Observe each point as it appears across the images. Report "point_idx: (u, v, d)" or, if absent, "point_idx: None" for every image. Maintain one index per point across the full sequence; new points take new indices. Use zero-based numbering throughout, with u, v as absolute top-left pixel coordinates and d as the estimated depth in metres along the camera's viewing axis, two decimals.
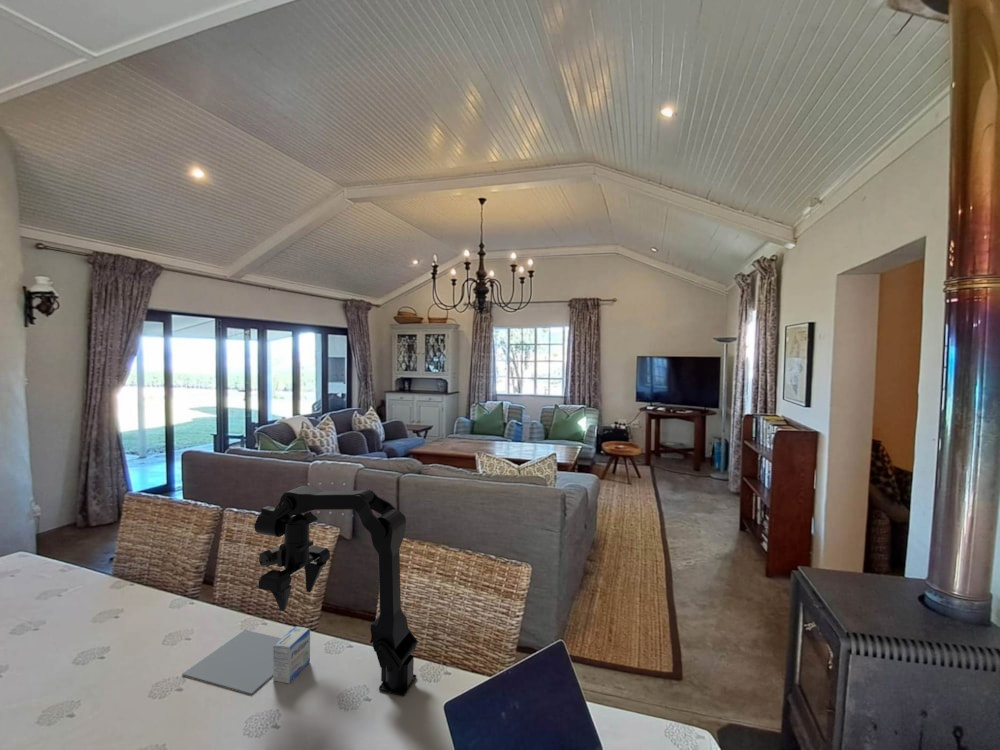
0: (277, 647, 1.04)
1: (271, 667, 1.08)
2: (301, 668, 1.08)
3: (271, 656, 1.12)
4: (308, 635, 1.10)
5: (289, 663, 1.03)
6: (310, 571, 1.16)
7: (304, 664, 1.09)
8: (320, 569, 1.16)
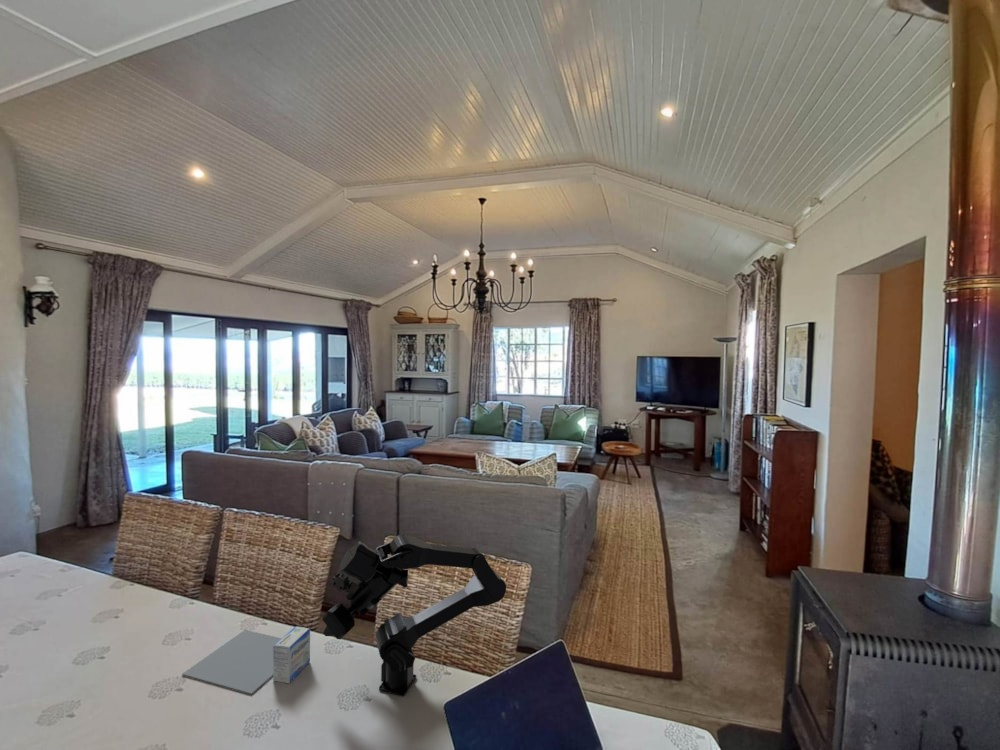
0: (277, 647, 1.04)
1: (271, 667, 1.08)
2: (301, 668, 1.08)
3: (271, 656, 1.12)
4: (308, 635, 1.10)
5: (289, 663, 1.03)
6: None
7: (304, 664, 1.09)
8: None
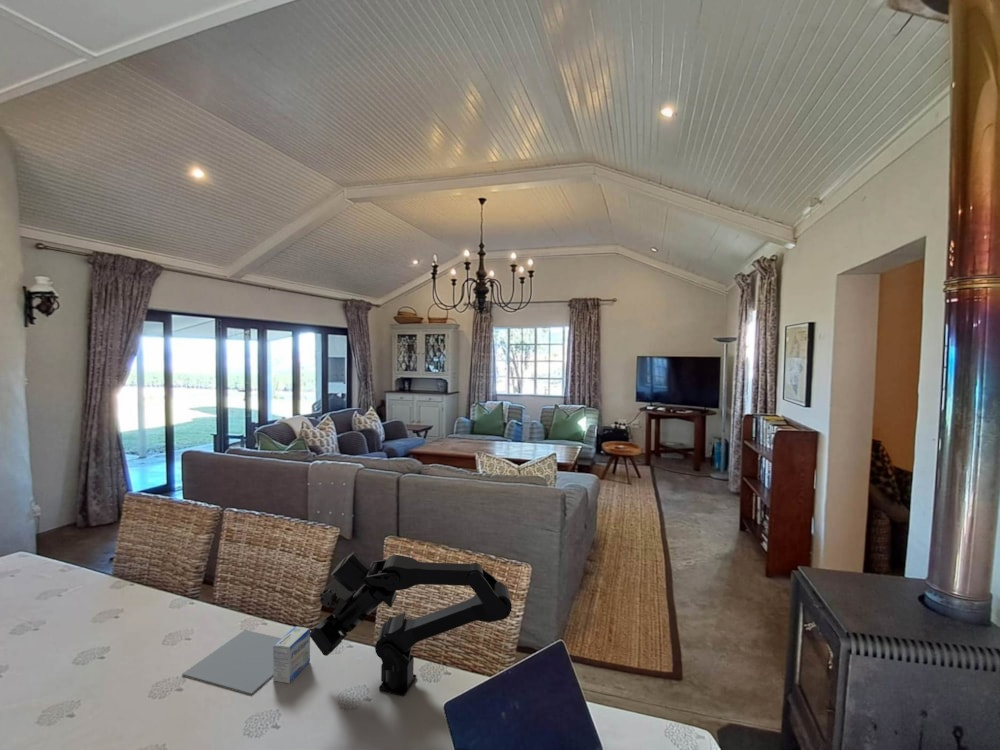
0: (277, 647, 1.04)
1: (271, 667, 1.08)
2: (301, 668, 1.08)
3: (271, 656, 1.12)
4: (308, 635, 1.10)
5: (289, 663, 1.03)
6: None
7: (304, 664, 1.09)
8: None
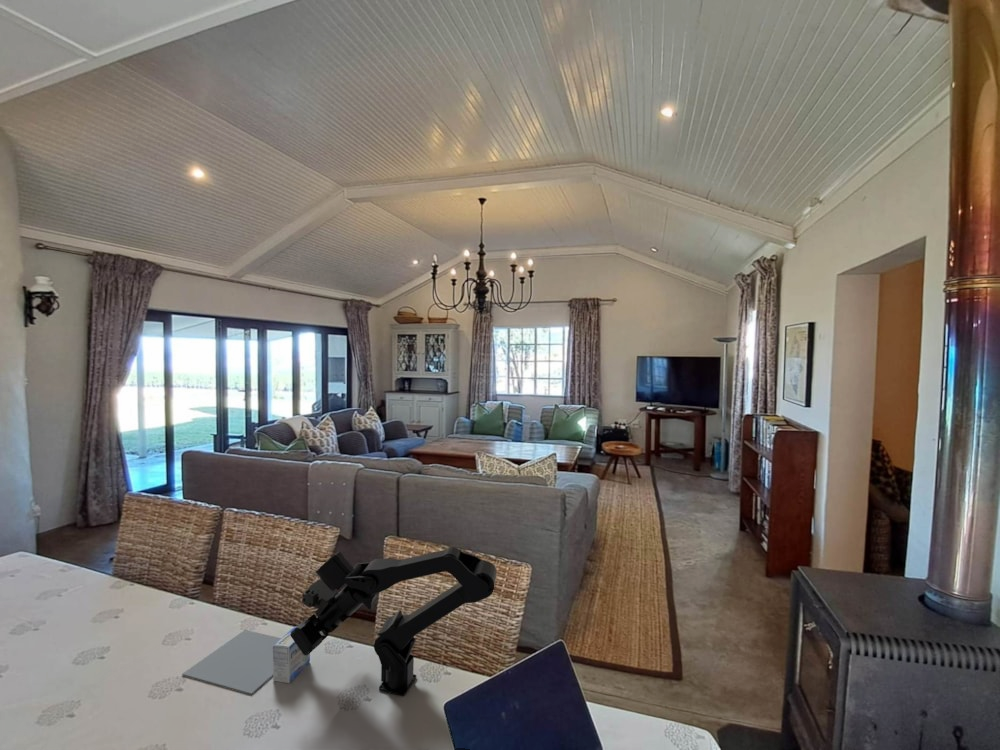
0: (276, 647, 1.04)
1: (271, 667, 1.08)
2: (301, 668, 1.08)
3: (271, 656, 1.12)
4: None
5: (288, 663, 1.03)
6: None
7: (304, 664, 1.09)
8: None
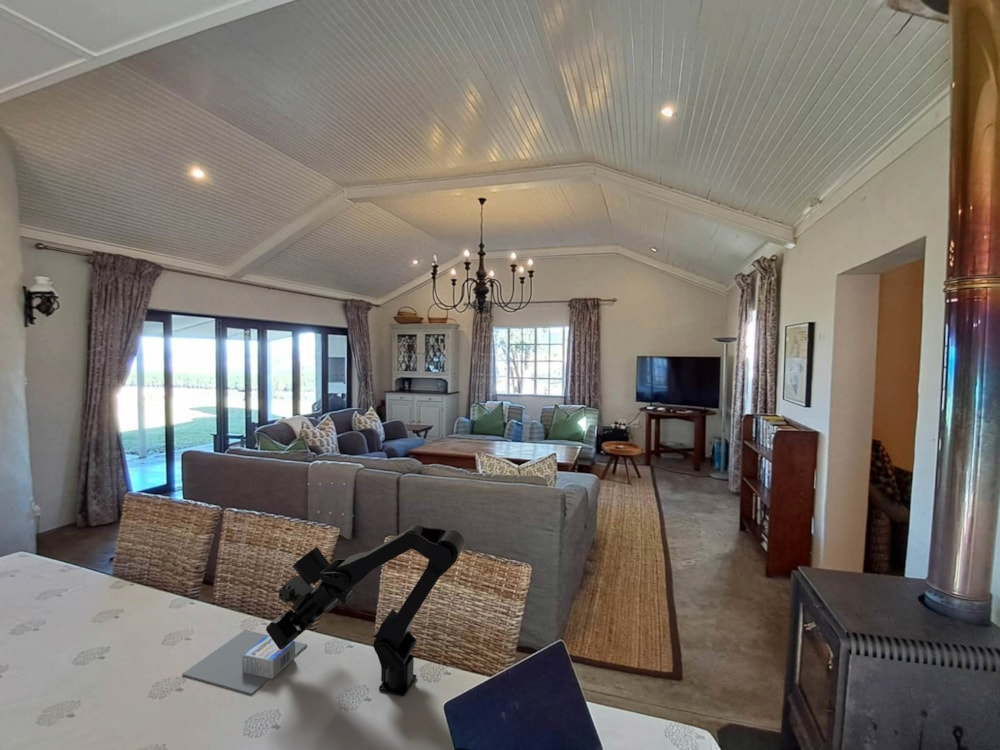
0: (243, 668, 1.06)
1: None
2: None
3: None
4: (268, 637, 1.13)
5: (255, 657, 1.05)
6: None
7: None
8: None
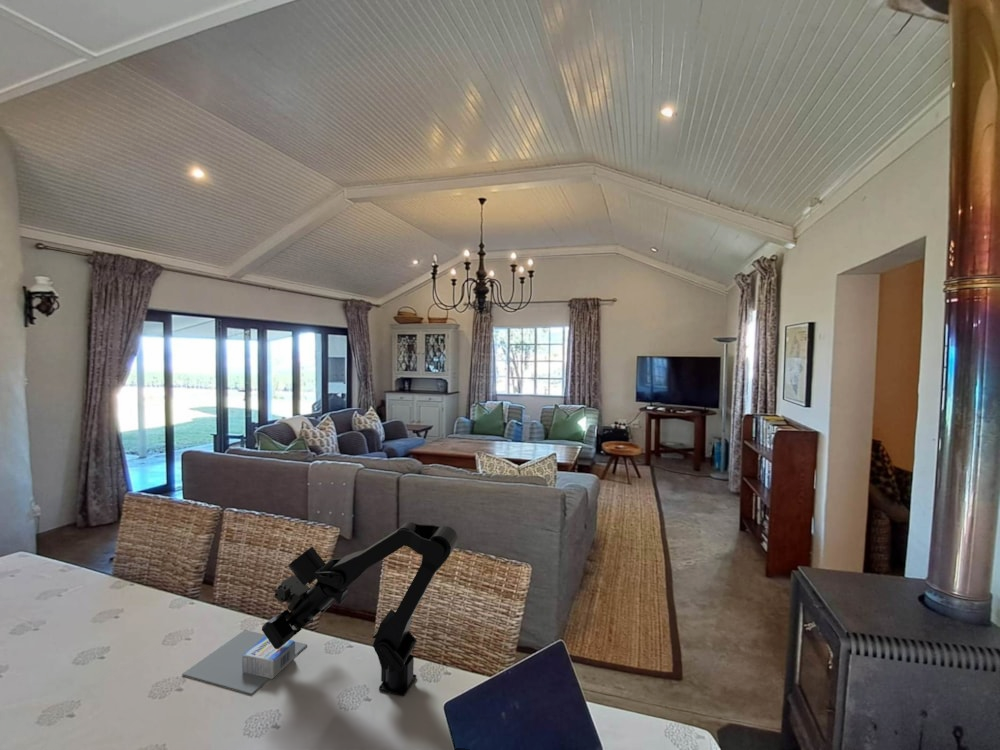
0: (243, 668, 1.06)
1: None
2: (283, 648, 1.09)
3: None
4: None
5: (255, 657, 1.05)
6: None
7: (285, 645, 1.10)
8: None
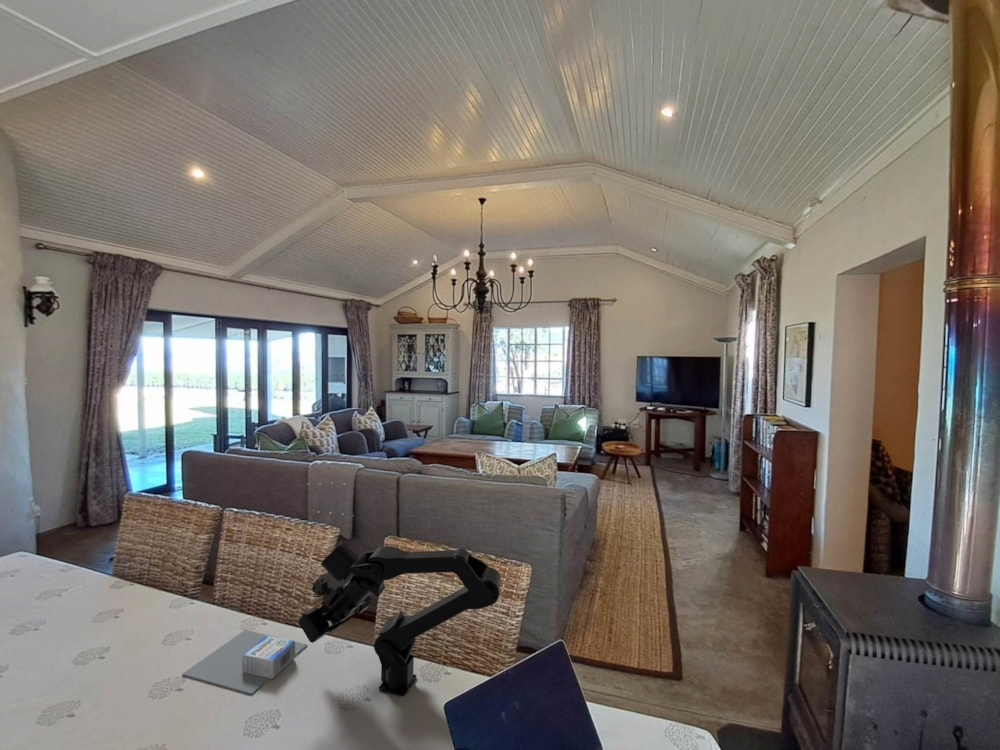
0: (243, 668, 1.06)
1: None
2: (283, 648, 1.09)
3: None
4: (268, 637, 1.13)
5: (255, 657, 1.05)
6: None
7: (285, 645, 1.10)
8: (341, 624, 1.08)
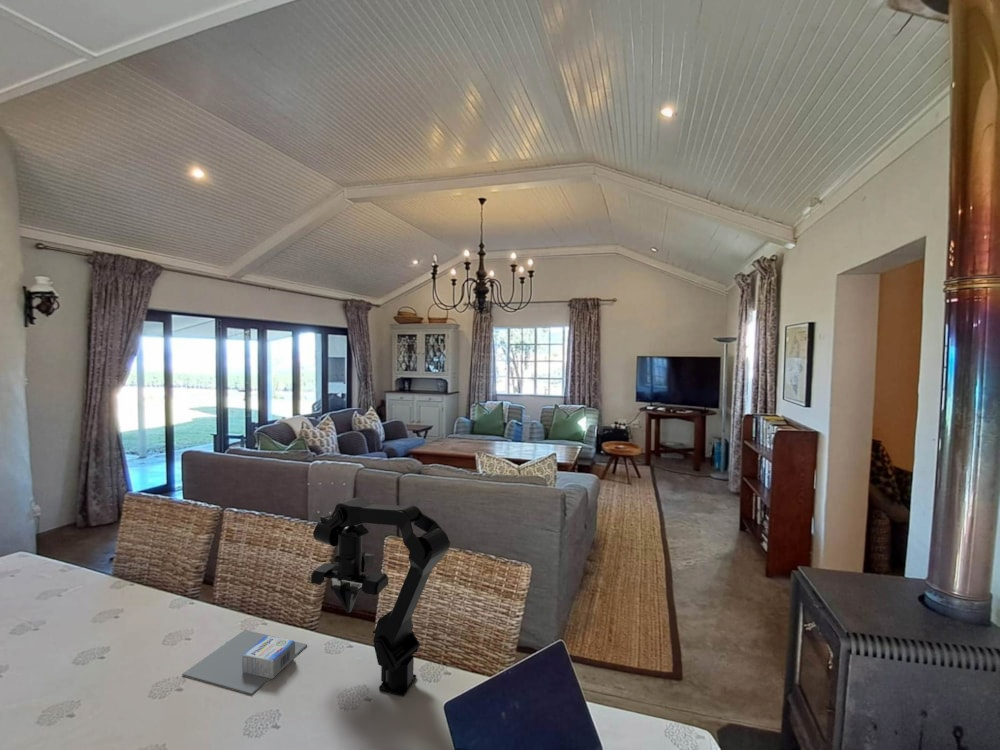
0: (243, 668, 1.06)
1: None
2: (283, 648, 1.09)
3: None
4: (268, 637, 1.13)
5: (255, 657, 1.05)
6: None
7: (285, 645, 1.10)
8: (347, 595, 1.09)
